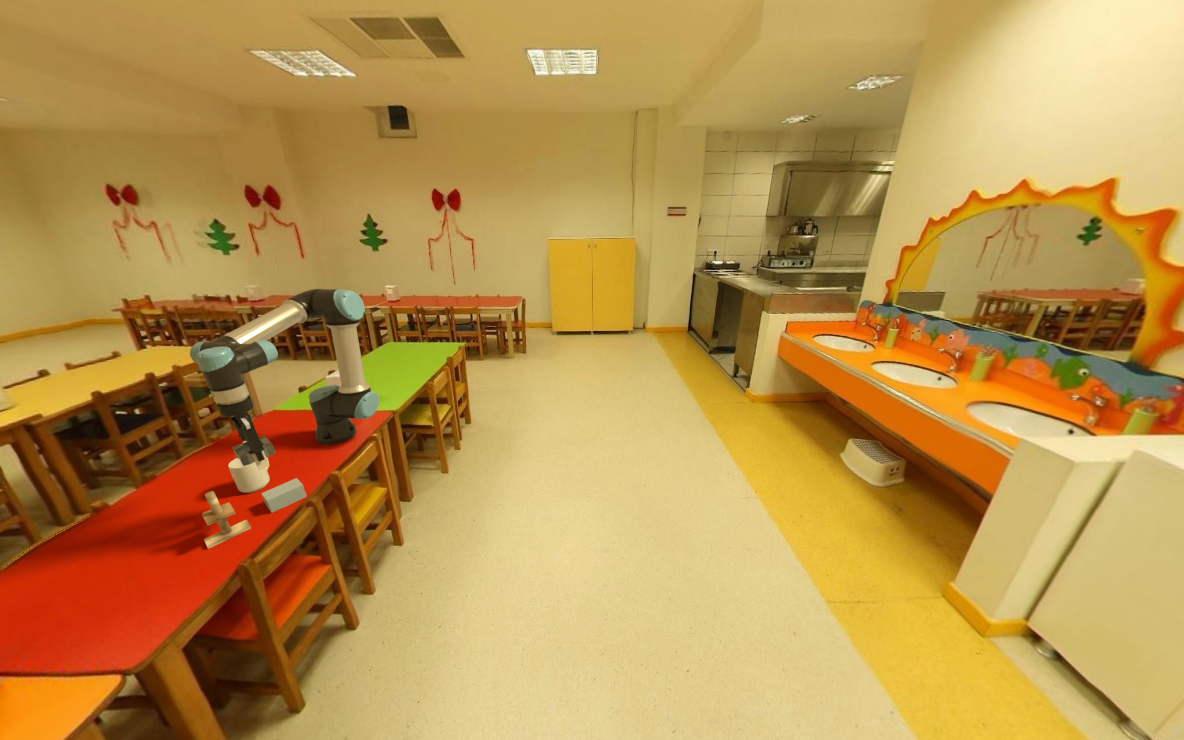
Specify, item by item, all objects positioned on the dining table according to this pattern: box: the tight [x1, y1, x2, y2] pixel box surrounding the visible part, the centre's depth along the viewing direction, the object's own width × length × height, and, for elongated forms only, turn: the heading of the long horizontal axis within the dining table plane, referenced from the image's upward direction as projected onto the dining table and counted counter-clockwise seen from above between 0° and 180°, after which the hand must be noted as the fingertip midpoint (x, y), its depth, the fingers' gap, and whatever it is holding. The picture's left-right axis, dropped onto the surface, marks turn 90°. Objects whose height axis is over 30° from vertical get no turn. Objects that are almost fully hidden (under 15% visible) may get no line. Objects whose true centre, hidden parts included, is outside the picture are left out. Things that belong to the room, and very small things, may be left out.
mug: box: [228, 457, 271, 494], centre depth 136 cm, size 12×9×11 cm
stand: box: [201, 490, 252, 550], centre depth 113 cm, size 10×6×16 cm, turn 143°
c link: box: [231, 435, 277, 466], centre depth 118 cm, size 8×8×4 cm
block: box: [261, 477, 308, 513], centre depth 129 cm, size 10×6×5 cm, turn 143°
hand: (259, 462), depth 120 cm, fingers closed on c link, 8 cm apart
